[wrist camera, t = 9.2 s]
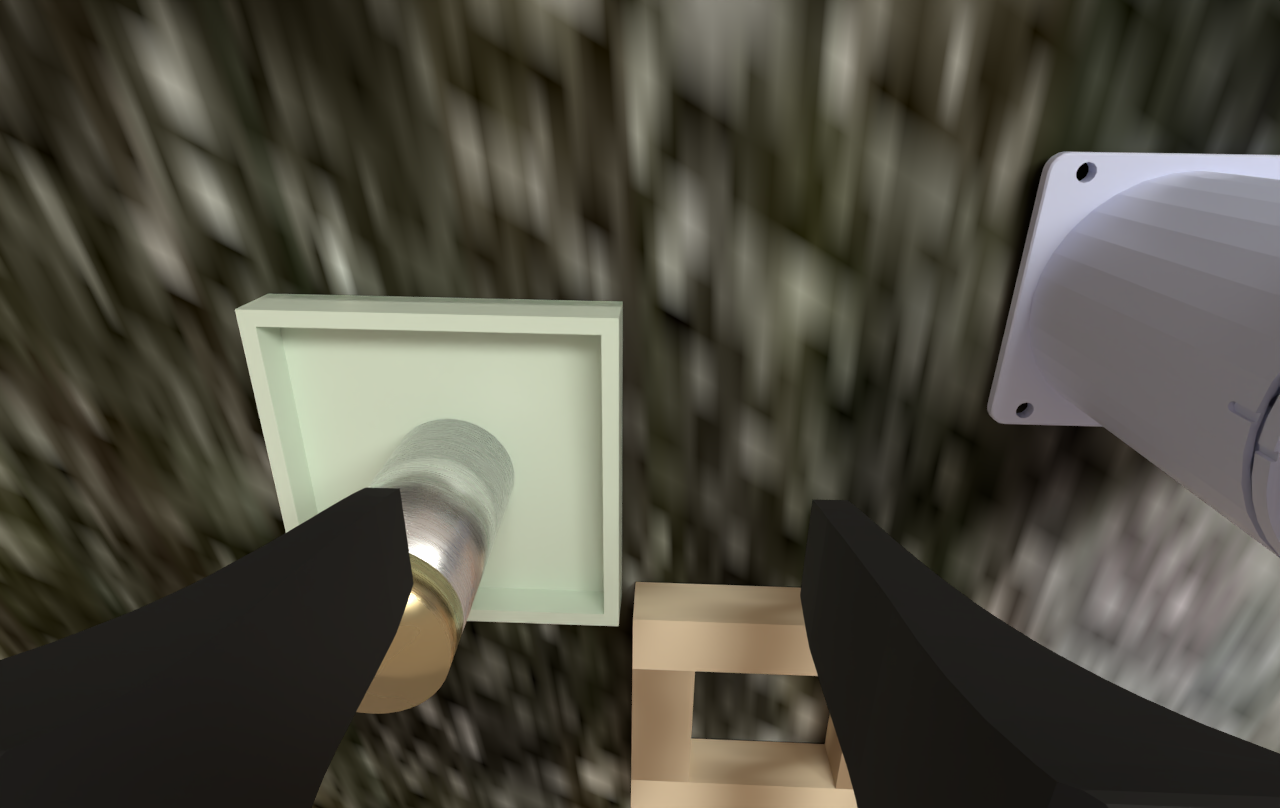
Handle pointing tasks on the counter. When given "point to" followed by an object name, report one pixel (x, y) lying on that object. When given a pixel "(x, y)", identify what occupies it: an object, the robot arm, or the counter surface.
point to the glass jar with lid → (439, 550)
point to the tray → (463, 390)
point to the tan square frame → (664, 689)
